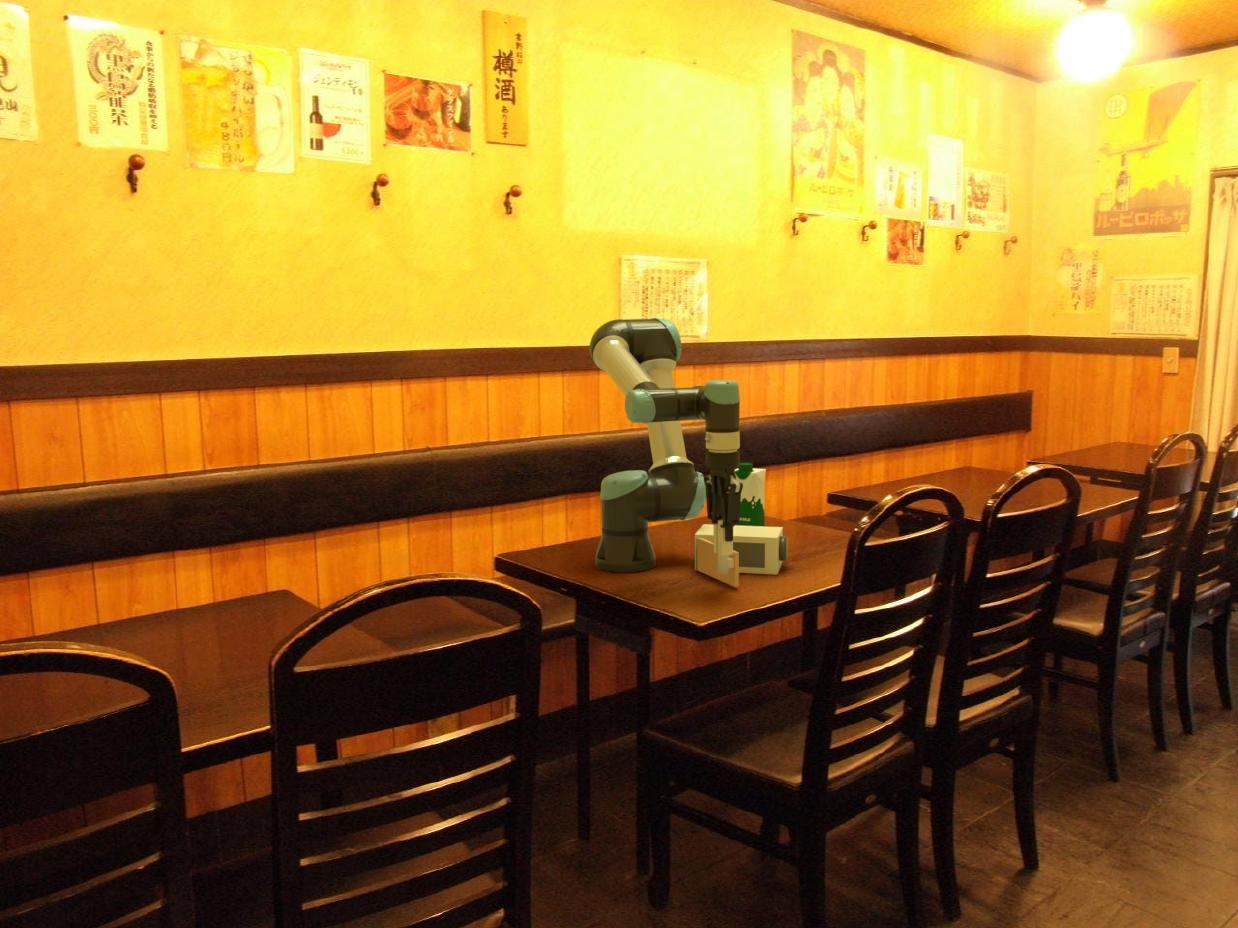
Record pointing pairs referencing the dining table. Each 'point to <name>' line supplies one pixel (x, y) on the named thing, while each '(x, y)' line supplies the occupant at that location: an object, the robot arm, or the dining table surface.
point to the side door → (717, 561)
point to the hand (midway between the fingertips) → (723, 553)
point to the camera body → (754, 547)
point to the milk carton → (751, 495)
